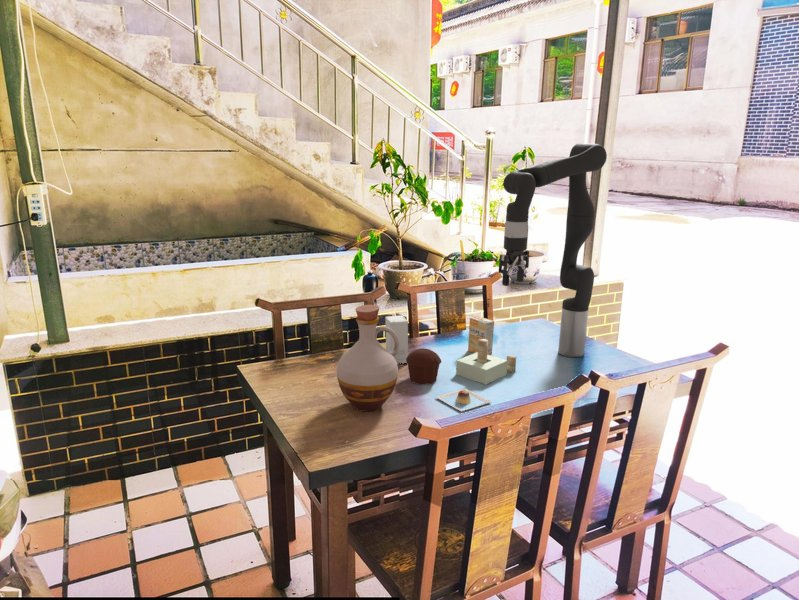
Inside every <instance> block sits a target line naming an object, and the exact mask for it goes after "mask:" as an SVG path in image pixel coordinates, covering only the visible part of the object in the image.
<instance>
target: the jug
mask: <svg viewBox="0 0 799 600" xmlns="http://www.w3.org/2000/svg"><path fill="white" fill-rule="evenodd" d="M355 312H356V315H357V316H355V321H356V323H357V325H358V331H359V337H358V340H357V341H356V342H355V343H354V344H353V345H352V346H351V347H350V348H348V350H347V351H346V352H344V353H343V354H342V355H341V357H340V358H339V360H338V362H337V364H336V365H337V366H336V378H337V382H338V385H339V388H340V390H341V393H342V395H343V396H344V397H345V398H346V400H347V401H348V403H349V404H351V406H352V407H354V409H355V410H357V409H358V410H357V411H360V410H362V411H361V412H373V411H372V410H374V411H377V410H379V409H380V408H381V407H382V406H383V405H384V404H385V403H386V402H387V400H388V399H389V398H390V397H391V396H392V394H393V392H394V390H395V387H396V385H397V381H398V377H399V366H398V364H397V362H396V360H395V358H394V357H393V356H395V355H396V354H397V352H398V349H399V339H398V337H397V335H396V333H395V332H394V331H393V330H392V329H390V328H389V327H386V325H384V326H383V325H382V326H381V325H380V326H377V325H378V323H379V321H380V317H379V316H378V315H379V312H380V306H378V305H377V304H363V305H358V306H357V307H356V308H355ZM380 332H385V333H386V332H388V333H389V334H390V335H391V336H392V338H393V339H394V350H393V351H392V352H389V351H387V350H386V347H384V346H383V345H382V344H381V343H380V342H379V341H378V338H377V335H378V333H380ZM378 408H379V409H378ZM376 409H377V410H376Z"/></svg>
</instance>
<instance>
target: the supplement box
mask: <svg viewBox="0 0 799 600" xmlns="http://www.w3.org/2000/svg"><path fill="white" fill-rule="evenodd" d="M468 326H469V327H468V329H469V330H468V342H467V343H468V344H467V345H468V346H467V351H468V352H470V353H472V354H474V353H476V352H478V340H479V339H486V340H488V351H487V355H491V356H492V355H493V345H494V330H495V320H491V319H490V318H486V317H483V316H479V315H475V316H470V317H469V325H468Z"/></svg>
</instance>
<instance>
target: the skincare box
mask: <svg viewBox="0 0 799 600" xmlns="http://www.w3.org/2000/svg"><path fill="white" fill-rule="evenodd" d="M384 319H385V326H386V327H389V328H390V329H392V330H393V331H394V332H395V333H396V335H397V337H398V339H399V349H398V352H397V354H396V355H395V356H393V357H394V358H395V360H396V362H397V363H398V364H397V365H403V364H404V363H407V362H406V358H407V357H408V355H409V330H408V329H409V321H408V320H407V319H406V318H405V317H404V316H403V315H402V314H401V315H392V316H390V315H389V316H385V318H384ZM385 349H386V350H387V351H389V352H392V351H393V350H394V339H393V338H392V336H391V335H390V334H389V333H388V332H385ZM399 363H400V364H399ZM401 363H402V364H401ZM404 365H405V364H404Z"/></svg>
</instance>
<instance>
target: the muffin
mask: <svg viewBox="0 0 799 600" xmlns="http://www.w3.org/2000/svg"><path fill="white" fill-rule="evenodd" d="M406 362H407V368H408V376H409V381H410V380H411V381H410V382H412V383H414V384H416V383H417V384H419V385H422V386H423V385H432V384H433V383H436V382H437V380H438V379H437V378H438V373H439V370H440V369H439V368H440V364H442V359H441V358H440V356H439V354H437V352H436V351H433V350H431V349H428V348H417V349H414V350H413V351H411V352H410V353H408V357H407V358H406ZM417 384H416V385H417Z"/></svg>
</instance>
